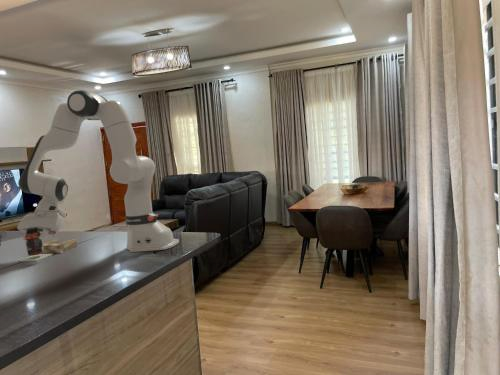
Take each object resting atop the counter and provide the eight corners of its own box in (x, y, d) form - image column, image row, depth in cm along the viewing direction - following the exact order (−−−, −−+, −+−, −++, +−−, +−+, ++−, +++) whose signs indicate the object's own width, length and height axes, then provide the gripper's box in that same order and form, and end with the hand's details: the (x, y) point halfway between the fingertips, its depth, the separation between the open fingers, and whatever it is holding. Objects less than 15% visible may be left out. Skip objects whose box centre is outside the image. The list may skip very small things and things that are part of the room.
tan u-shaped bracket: (76, 246, 179) (75, 238, 179) (60, 252, 169) (59, 245, 169) (54, 246, 182) (53, 239, 182) (37, 253, 172) (36, 245, 172)
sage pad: (52, 254, 167) (52, 253, 167) (36, 261, 158) (36, 260, 158) (35, 255, 169) (35, 253, 169) (19, 261, 161) (18, 260, 161)
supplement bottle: (46, 251, 166) (43, 225, 165) (38, 255, 160) (33, 229, 159) (33, 252, 167) (30, 226, 166) (24, 256, 161) (20, 230, 160)
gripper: (22, 209, 171) (7, 236, 163) (61, 206, 166) (47, 234, 157) (31, 216, 176) (17, 243, 167) (69, 215, 171) (57, 242, 162)
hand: (32, 239), depth 162 cm, fingers closed on supplement bottle, 6 cm apart
